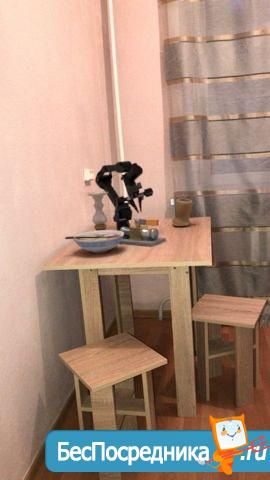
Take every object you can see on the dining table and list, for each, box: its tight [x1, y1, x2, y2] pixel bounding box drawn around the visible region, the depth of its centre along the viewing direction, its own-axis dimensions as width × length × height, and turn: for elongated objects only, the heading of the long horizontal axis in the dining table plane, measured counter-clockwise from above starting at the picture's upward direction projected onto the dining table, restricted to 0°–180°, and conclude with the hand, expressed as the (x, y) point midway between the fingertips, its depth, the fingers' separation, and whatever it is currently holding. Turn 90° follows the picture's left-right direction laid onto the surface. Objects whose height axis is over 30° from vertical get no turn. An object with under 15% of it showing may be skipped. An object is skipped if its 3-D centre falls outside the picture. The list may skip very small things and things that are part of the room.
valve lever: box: [134, 218, 160, 227], centre depth 197 cm, size 12×3×3 cm, turn 58°
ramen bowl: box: [64, 229, 124, 254], centre depth 188 cm, size 25×23×8 cm
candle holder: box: [86, 190, 108, 231], centre depth 209 cm, size 11×11×24 cm
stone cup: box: [171, 197, 194, 227], centre depth 236 cm, size 15×12×15 cm
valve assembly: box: [118, 225, 167, 247], centre depth 200 cm, size 22×12×8 cm, turn 55°
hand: (139, 212), depth 211 cm, fingers closed
